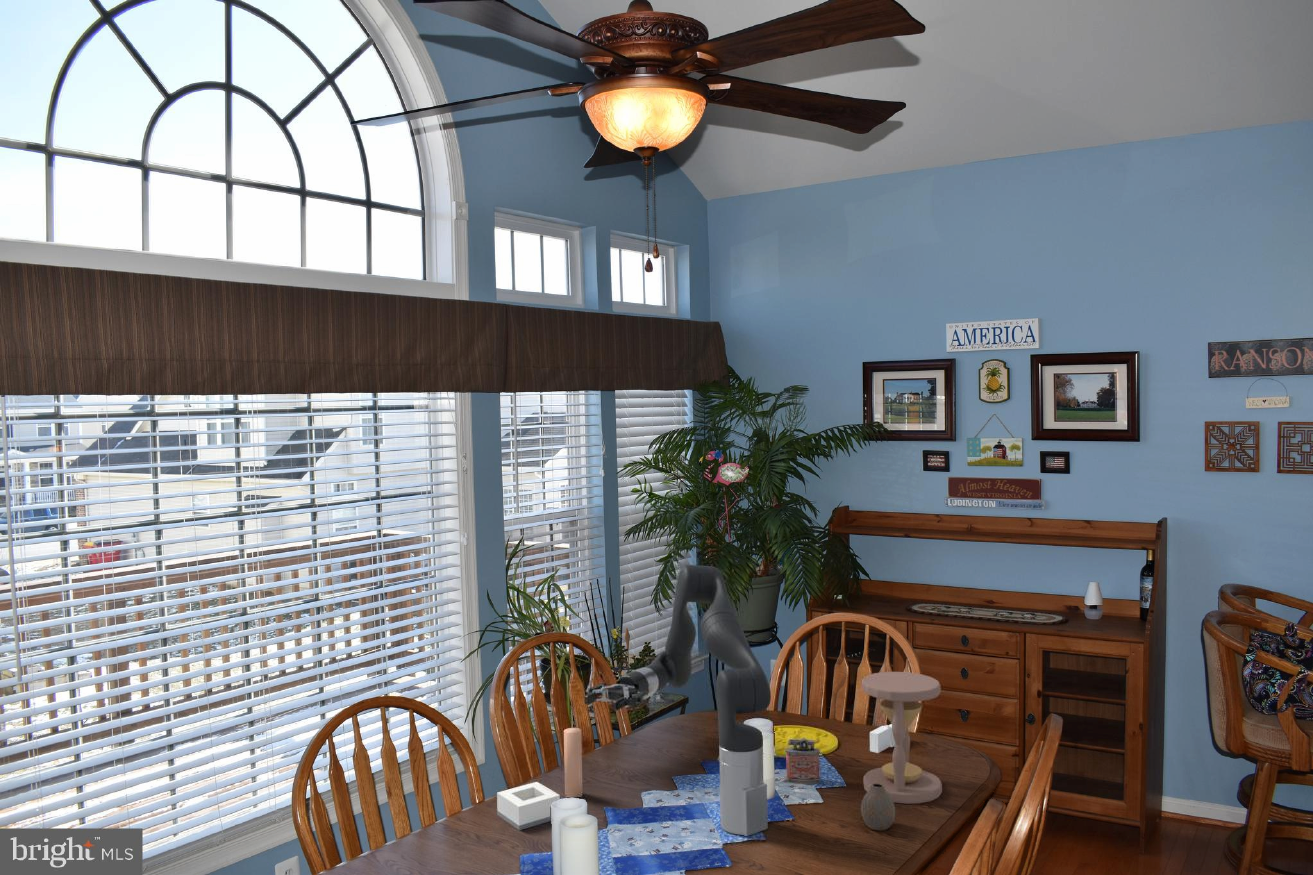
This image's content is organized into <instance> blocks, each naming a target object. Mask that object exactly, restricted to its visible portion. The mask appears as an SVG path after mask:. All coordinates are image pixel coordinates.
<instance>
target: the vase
mask: <svg viewBox="0 0 1313 875" xmlns="http://www.w3.org/2000/svg"><path fill="white" fill-rule="evenodd" d="M860 808H861V809H860V811H861V816H862V819H863V822H864V823H865V824H866V826H867V827H869V829H871V830H873V831H885V830H887V829H889V828H890V827H891V826H892V825H893V822H894V820H895V816H896V807H895V802H893V800H892V798H891V796H890V795H889V794H888V792H887V791H886V790H885V788H884V786H883V785H882V784H880V783H874V784H872V786H871V788H870V789H869V791H868V792H867V791H866V793H865V794H864V796H863V798H862V800H861V805H860Z"/></svg>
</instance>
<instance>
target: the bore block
mask: <svg viewBox="0 0 1313 875" xmlns="http://www.w3.org/2000/svg"><path fill="white" fill-rule="evenodd" d="M560 798H561V797H560V794H558V793H557V792H555V791H554V790H552V789H551V788H548V787H547V786H545V785H543V784H542V783H539V781H534V782H530V783H526V784H523V785H520V786H516V787H513V788H510V789H505V790H502V791H499V792H496V801H497V803H496V806H497V808H496V810H497V812H496V813H497V816H498V817H500V819H502V820H504V821H505V822H506V823H508V824H509V825H511V826H512V827H513V828H515V829H516V830H518V831H521V830H525V829H528V828H532V827H535V826H539V825H542V824H545V823H548V822H551V818H550V807H551V804H552V802H554V801H557V800H559V799H560ZM560 800H561V799H560Z"/></svg>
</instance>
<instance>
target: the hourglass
mask: <svg viewBox="0 0 1313 875" xmlns="http://www.w3.org/2000/svg"><path fill="white" fill-rule="evenodd" d="M941 687H942V686H941V684H940V681H939V680H937V679H936V678H934V677H932V676H928V675H925V674H921V673H917V672H916V673H915V672H909V671H908V672H905V671H883V672H882V671H880V672H874V673H870V674H867V675H866V676H864V677H863V678H862V679H861V689H862V691H863V692H864V693H865V694H866V695H867V696H870V697H873V698H877V699H880V700H881V701H880V702H879V704H880V707H881V710H882V712H883V713H884V715H885V716H886V717H887V719H888V721H889V722H890V724H892V733H893V737H894V741H895V747H894V746H893V747H894V748H893V751H892V757H891V758H892V760H891V762H888V763H886V764H883V765H882V767H877V768H873V769H871V770H868V771H867V772H866V773H865V774H864V776H863V788H864V790H865V791H866V793H867V792H868V791H869V789H870V788H871V786H872V784H874V783H880V784H882V785H883V786H884V788H885V790H886V791H887V792H888V794H889V795H890V796H891V798H892V800H893V802H894V804H895V803H896V804H905V805H907V804H908V805H909V804H913V805H914V804H923V803H928V802H932V801H934V800H936V799H939V798H940V795H941V794H942V793H943V784H942V781H941V779H940V778H939V777H937V776H936V775H935V774H933V773H932V772H928V771H926V770H923V769H922V768H921V767H920V766H918V765H915V764H913V763H910V749H911V748H910V746H911V737H910V734H909V730H908V729H909V727H910V726H911V725H912V724H913V722H914V720H916V718H917V716H918V715H919V714H920V712H921V711H922V708H923V704H922V703H921V702H922V701H930V700H932V699H936V698H937V697H939V695H940V694H941V692H942V689H941Z"/></svg>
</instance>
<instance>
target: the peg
mask: <svg viewBox="0 0 1313 875" xmlns="http://www.w3.org/2000/svg"><path fill="white" fill-rule="evenodd" d="M582 749H583V748H582V728H578V727H569V728H566V729H564V730H563V751H564V752H563V753H564V754H563V756H564V757H563V759H564V761H563V762H564V797H565V798H567V797H580V798H582V797H583V793H584V792H583V754H582V752H583V750H582ZM565 795H567V796H565Z"/></svg>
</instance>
